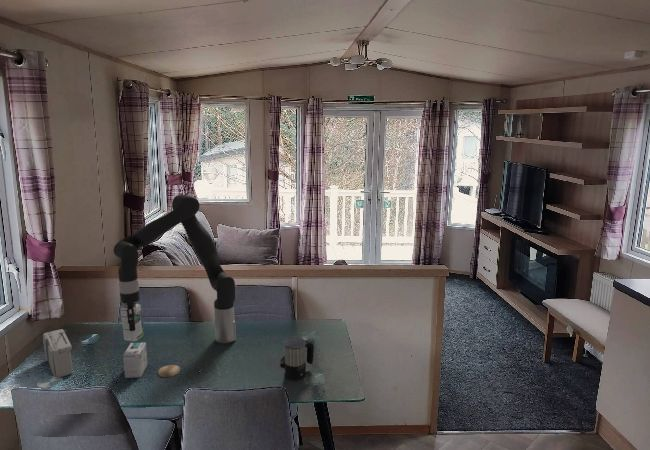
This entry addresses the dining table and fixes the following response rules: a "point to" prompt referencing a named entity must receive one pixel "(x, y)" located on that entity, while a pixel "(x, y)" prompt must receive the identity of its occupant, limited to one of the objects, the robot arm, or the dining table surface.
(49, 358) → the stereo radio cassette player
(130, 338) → the syrup box
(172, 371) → the cork coaster
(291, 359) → the milk frother
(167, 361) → the dining table surface
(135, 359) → the light bulb box
